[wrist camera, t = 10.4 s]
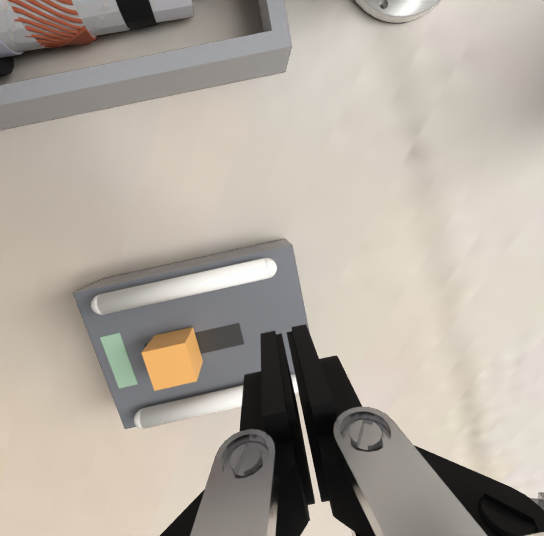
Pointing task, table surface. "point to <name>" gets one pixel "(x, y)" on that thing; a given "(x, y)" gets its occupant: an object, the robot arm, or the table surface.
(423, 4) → the robot arm
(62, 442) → the table surface
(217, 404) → the cord
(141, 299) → the cord
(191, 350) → the block
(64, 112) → the grey tray
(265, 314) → the grey slider switch panel
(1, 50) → the cable
